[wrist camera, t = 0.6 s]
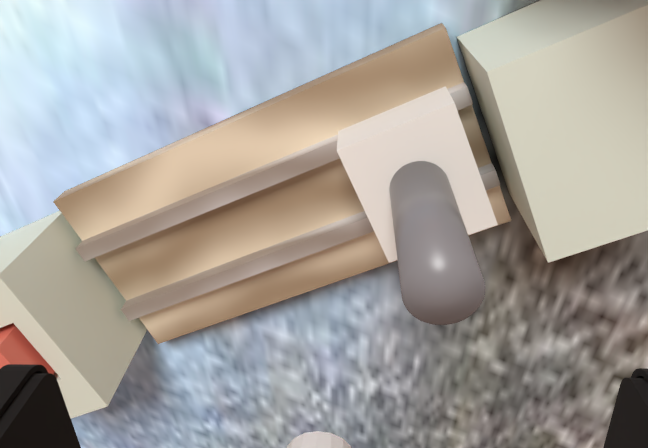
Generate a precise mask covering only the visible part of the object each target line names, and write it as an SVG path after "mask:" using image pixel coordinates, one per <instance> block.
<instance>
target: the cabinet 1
mask: <svg viewBox="0 0 648 448" xmlns="http://www.w3.org/2000/svg"><path fill="white" fill-rule="evenodd" d="M81 242H82V240H81V239H80V237H79V236H78V234H77V233H76V232H75V230H74V229H73V228H72V226H71V225H70V224H69V222H68V221H67V220H66V218H65V217H64V215H63V214H62V213H61V211H58V212H55V213H53V214H51V215H48V216H46V217H44V218H42V219H39V220H37V221H35V222H32V223H30V224H28V225H25V226H23V227H21V228H19V229H16V230H14V231H12V232H9V233H7V234H5V235H3V236H0V328H1V327H4V326H6V325H9V324H12V323H14V325H15V326H16V327H17V328H18V329H19V330H20V331H21V333H22V334H23V335H24V336H25V337H26V338H27V340H28V341H29V342H30V343H31V344H32V345H33V347H34V348H35V349H36V350H37V351H38V352H39V353H40V355H41V356H42V357H43V358H44V359H45V360H46V362H47V363H48V364H49V365H50V366H51V367H52V369H53V370H54V371H55V373H54V374H53V375H55V377H56V379H57V382H58V384H59V387H60V390H61V393H62V396H63V399H64V402H65V404H66V407H67V410H68V413H69V416H70V419H71V418H74V417H77V416H80V415H83V414H86V413H89V412H92V411H95V410H98V409H101V408H104V407H107V406H108V405H109V403H110V401H111V399H112V397H113V396H114V394H115V392H116V390H117V388H118V386H119V384H120V382H121V380H122V378H123V376H124V374H125V372H126V370H127V368H128V366H129V364H130V363H131V361H132V359H133V357H134V355H135V353H136V351H137V349H138V347H139V345H140V343H141V341H142V339H143V337H144V335H145V333H146V331H147V328H146V327H145V326H144V324H143V323H142V321H141V320H140V319H139V318H136V319H133V320H131V321H129V320H128V319H127V317H126V316H125V315H124V313H123V312H122V311H121V308H122V307H123V305H124V303H125V302H126V300H125V298H124V297H123V296H122V294H121V293H120V292H119V290H118V289H117V287H116V286H115V285H114V283H113V282H112V281H111V279H110V278H109V277H108V275H107V274H106V273H105V271H104V270H103V268H102V267H101V266H100V264H99V263H98V262H97V260H96V259H95V258H92V259H90V260H88V261H84V260H83V259H82V257H81V256H80V255H79V253H78V252H77V251H76V247H77V246H78V245H79V244H80V243H81Z"/></svg>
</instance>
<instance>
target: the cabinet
mask: <svg viewBox="0 0 648 448" xmlns="http://www.w3.org/2000/svg"><path fill="white" fill-rule="evenodd" d="M457 39H458V42H459V45H460V48H461V51H462V54H463V57H464V60H465V63H466V66H467V69H468V72H469V75H470V78H471V81H472V84H473V87H474V90H475V93H476V96H477V99H478V102H479V105H480V108H481V111H482V114H483V117H484V120H485V123H486V126H487V129H488V132H489V135H490V138H491V141H492V144H493V147H494V150H495V153H496V156H497V159H498V162H499V165H500V168H501V171H502V174H503V177H504V180H505V183H506V186H507V189H508V192H509V194H510V196H511V198H512V199H513V201H514V203H515V205H516V206H517V208H518V210H519V212H520V214H521V215H522V217H523V219H524V221H525V223H526V224H527V226H528V228H529V230H530V231H531V233H532V235H533V237H534V239H535V240H536V242H537V244H538V246H539V247H540V249H541V251H542V253H543V255H544V256H545V258H546V260H547V262H548V263H549V262H552V261H555V260H558V259H561V258H564V257H567V256H571V255H574V254H577V253H580V252H583V251H586V250H589V249H592V248H595V247H598V246H601V245H604V244H607V243H610V242H613V241H616V240H620V239H623V238H626V237H629V236H632V235H635V234H638V233H641V232H644V231H647V230H648V0H540V1H538V2H535V3H533V4H531V5H529V6H526V7H524V8H522V9H519V10H517V11H515V12H513V13H510V14H508V15H506V16H503V17H501V18H499V19H497V20H494V21H492V22H490V23H487V24H485V25H483V26H481V27H478V28H476V29H474V30H471V31H469V32H467V33H465V34H462V35H460V36H458V37H457Z"/></svg>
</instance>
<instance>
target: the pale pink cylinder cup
mask: <svg viewBox="0 0 648 448" xmlns="http://www.w3.org/2000/svg"><path fill="white" fill-rule="evenodd" d="M287 448H351V446H350V445H349V444H348V443H347V442H346V441H345V440H344V439H343V438H341V437H339V436H336V435H334V434H332V433H327V432H320V431H315V432H309V433H303V434H301V435H300V436H298V437H296V438H294V439H293V440H292V441H291V442H290V443H289V445H288V446H287Z"/></svg>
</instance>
